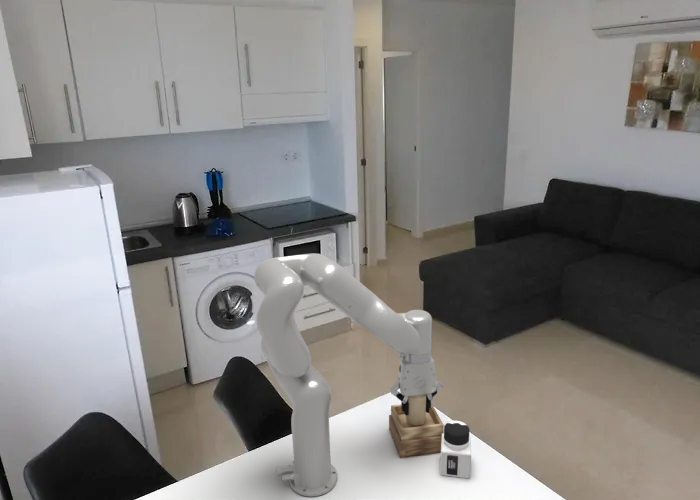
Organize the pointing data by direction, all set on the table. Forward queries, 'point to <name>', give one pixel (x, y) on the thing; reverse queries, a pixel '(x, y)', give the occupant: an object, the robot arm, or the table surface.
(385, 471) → the table surface
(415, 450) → the base crate
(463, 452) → the container
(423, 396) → the candle
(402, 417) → the top crate
